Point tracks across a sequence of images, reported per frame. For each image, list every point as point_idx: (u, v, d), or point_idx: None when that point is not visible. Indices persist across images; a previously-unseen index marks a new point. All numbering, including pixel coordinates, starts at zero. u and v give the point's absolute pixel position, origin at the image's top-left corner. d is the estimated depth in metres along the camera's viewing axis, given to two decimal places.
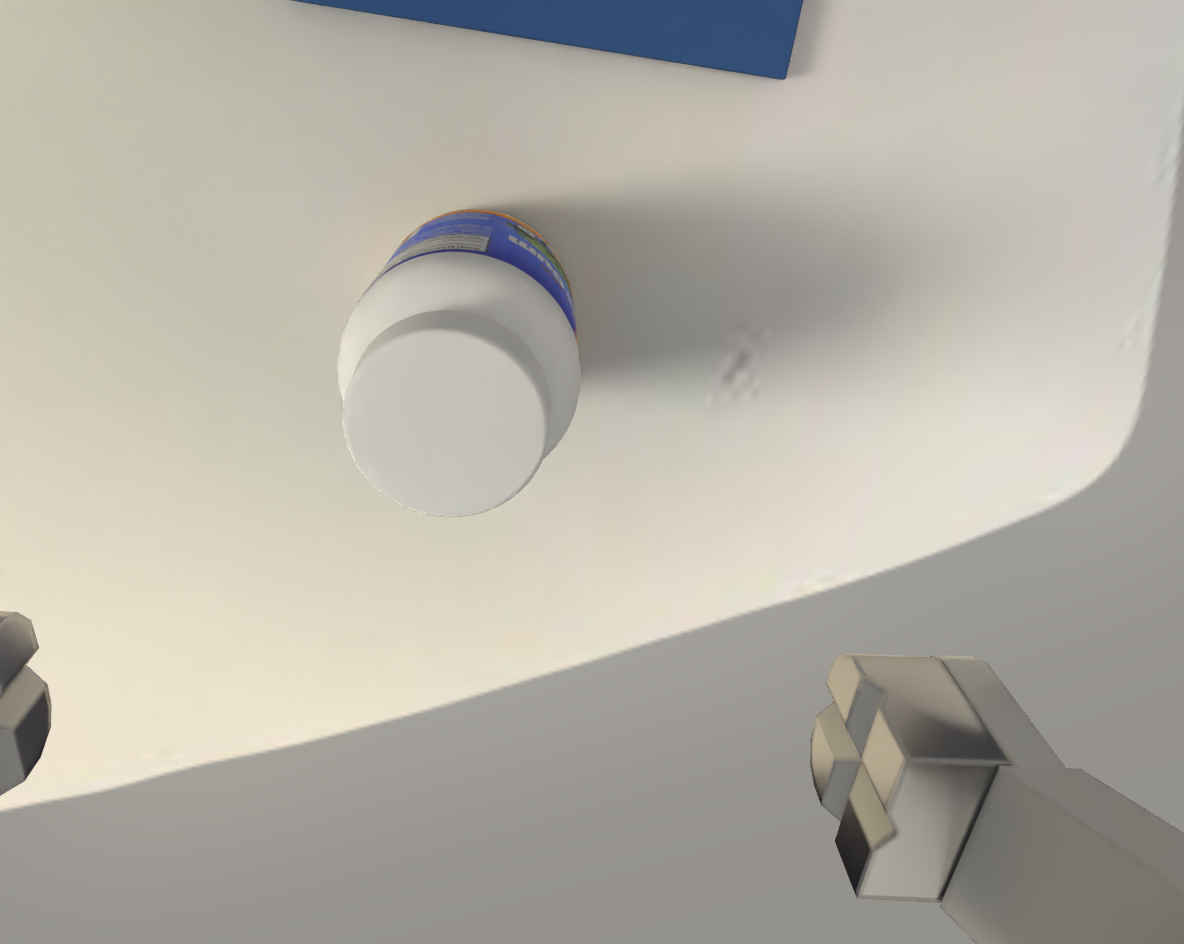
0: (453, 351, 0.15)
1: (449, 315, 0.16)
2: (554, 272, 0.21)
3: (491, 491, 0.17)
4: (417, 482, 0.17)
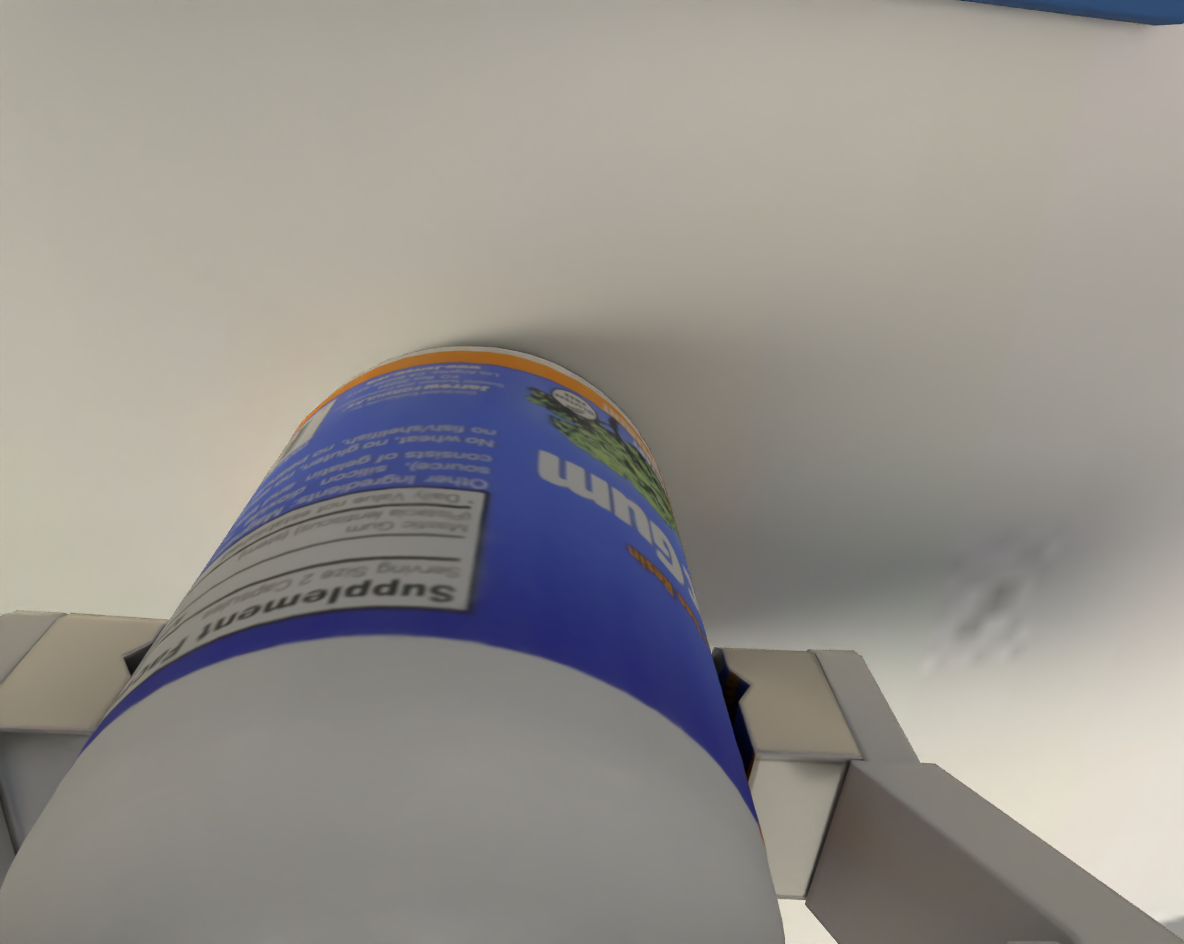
0: None
1: None
2: (656, 537, 0.08)
3: None
4: None
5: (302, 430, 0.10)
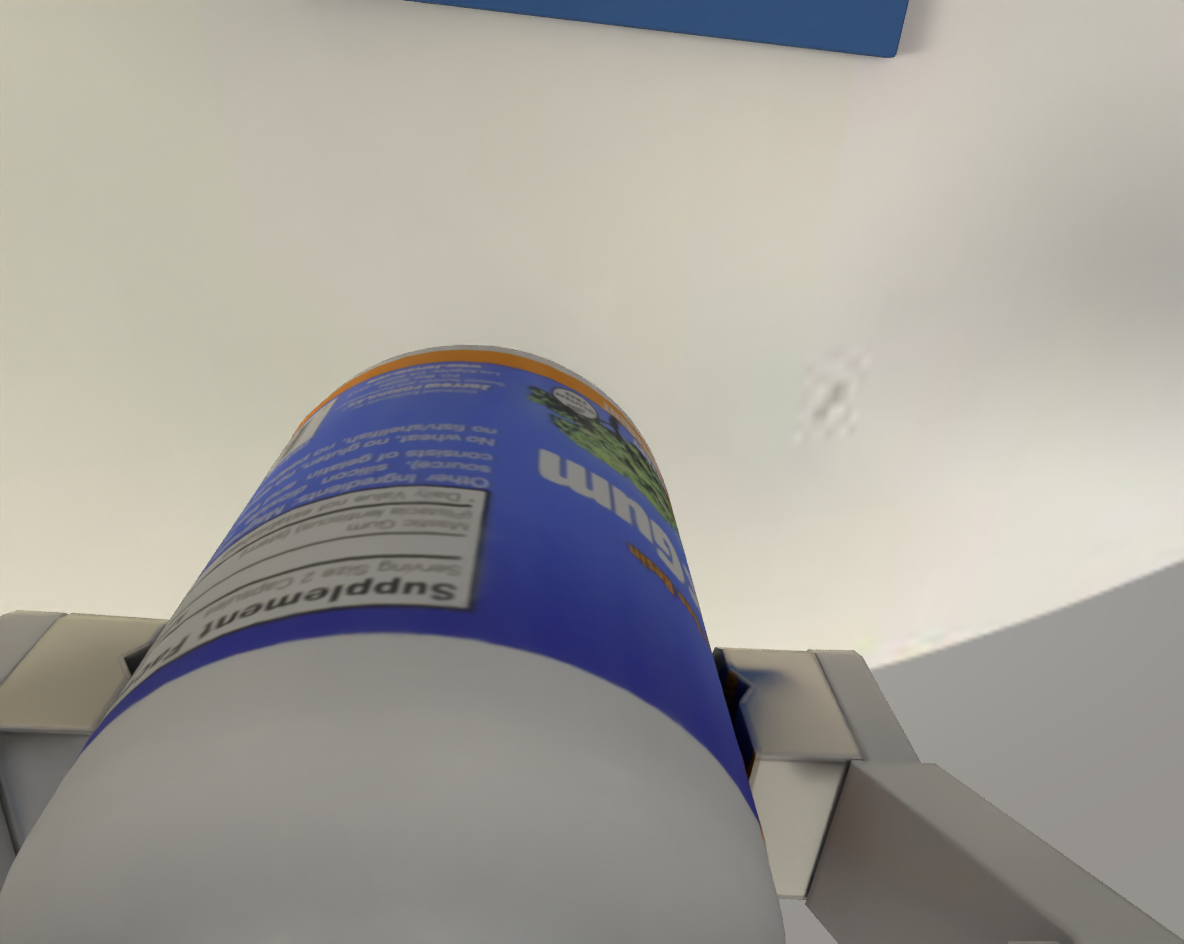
0: None
1: None
2: (656, 535, 0.08)
3: None
4: None
5: (303, 429, 0.10)
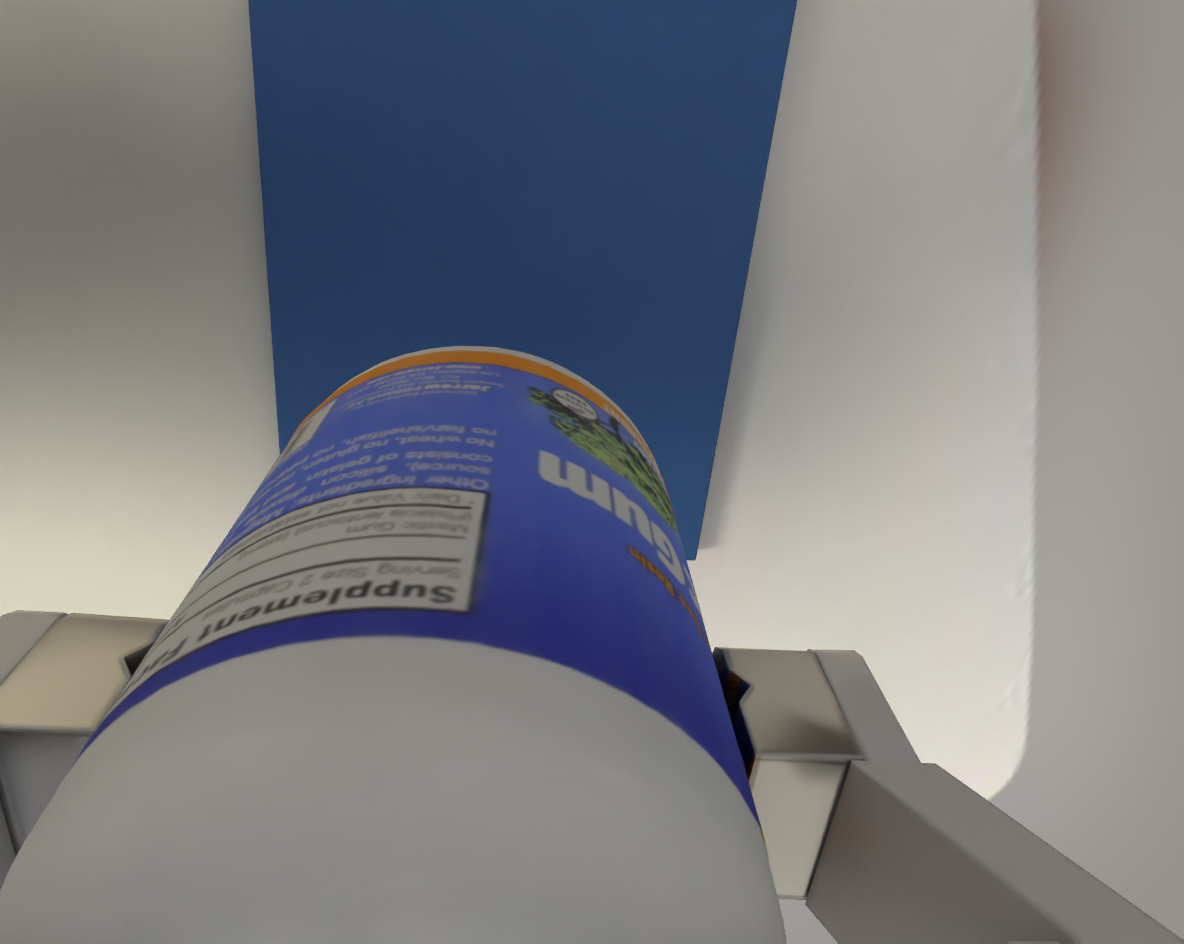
0: None
1: None
2: (657, 537, 0.08)
3: None
4: None
5: (302, 430, 0.10)
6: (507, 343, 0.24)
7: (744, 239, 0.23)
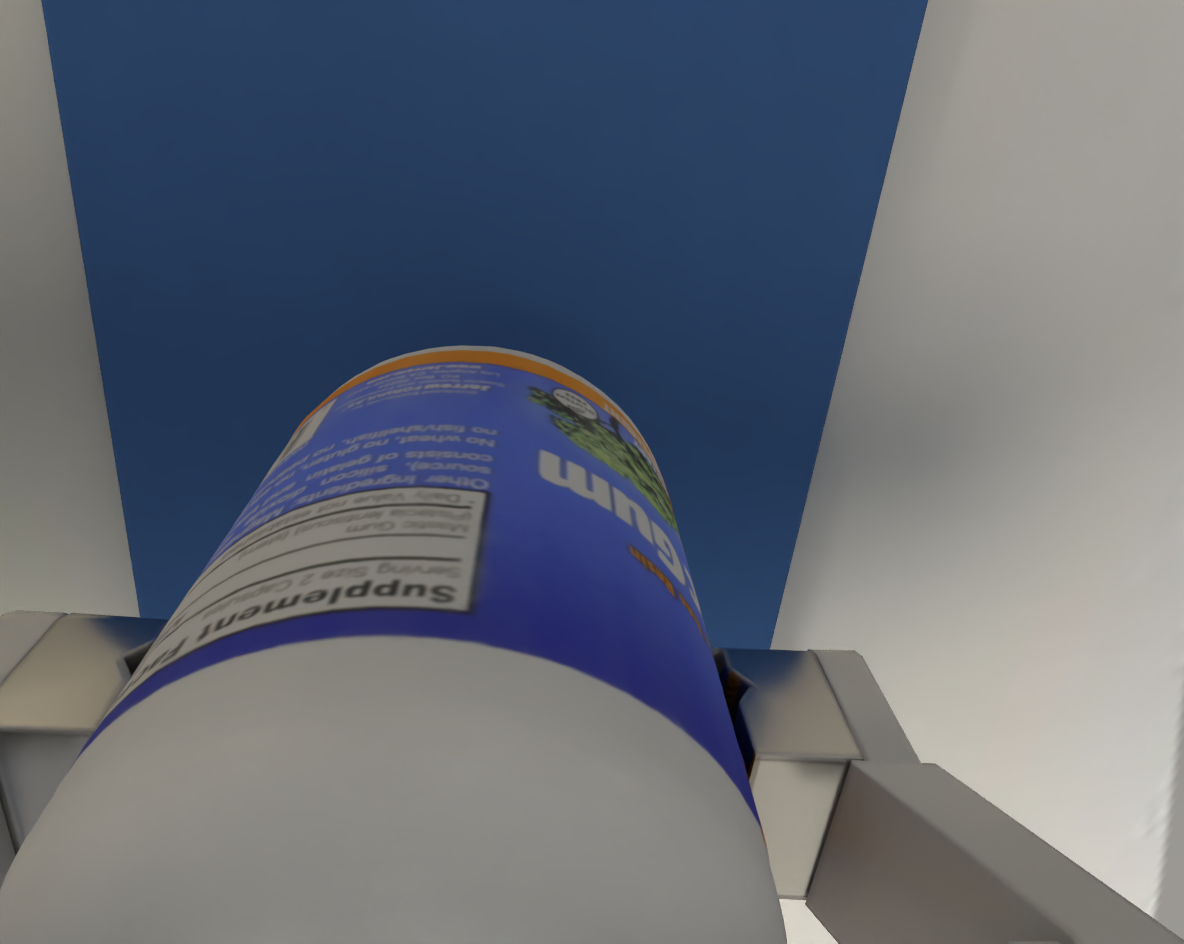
0: None
1: None
2: (657, 536, 0.08)
3: None
4: None
5: (302, 430, 0.10)
6: None
7: (812, 423, 0.16)
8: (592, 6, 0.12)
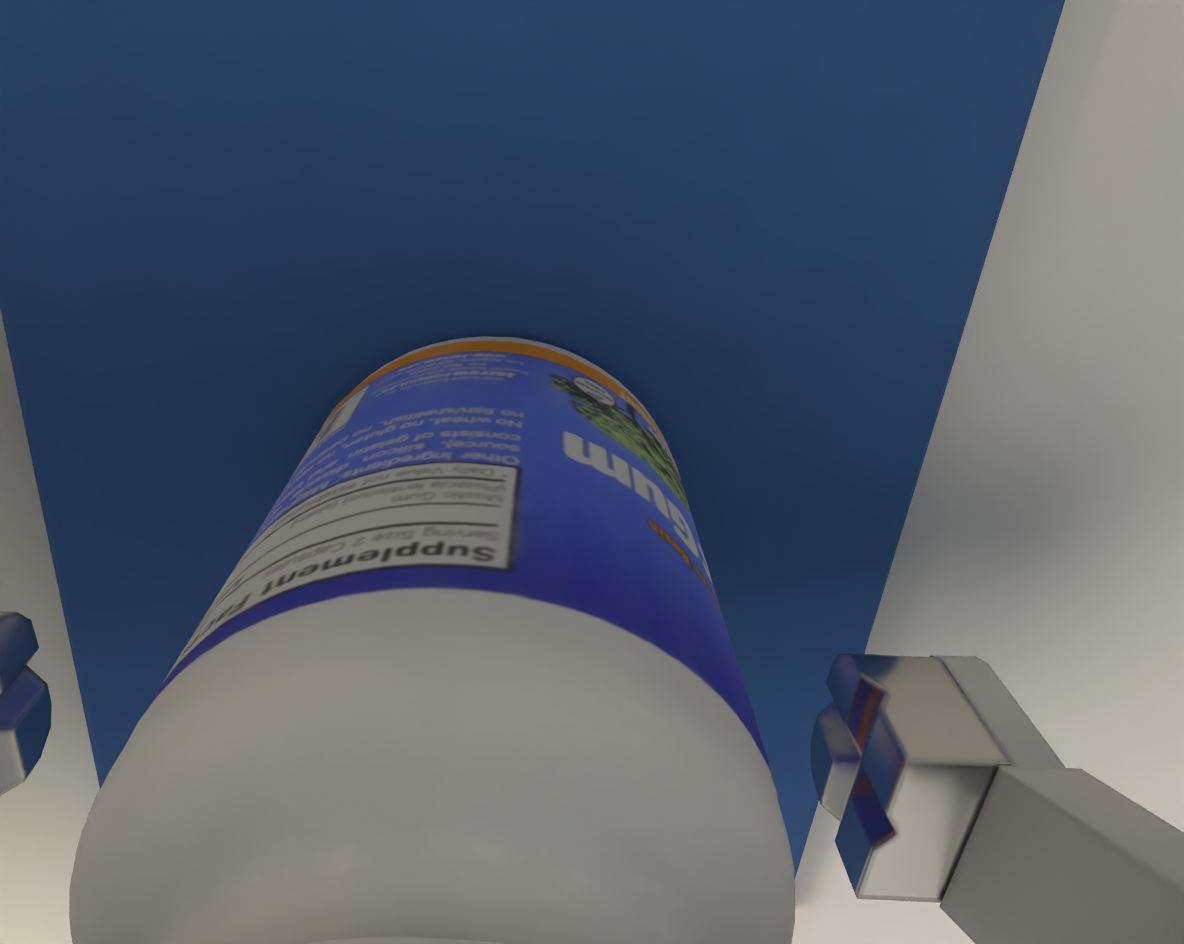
0: None
1: None
2: (672, 513, 0.09)
3: None
4: None
5: (337, 414, 0.10)
6: None
7: (894, 504, 0.13)
8: None
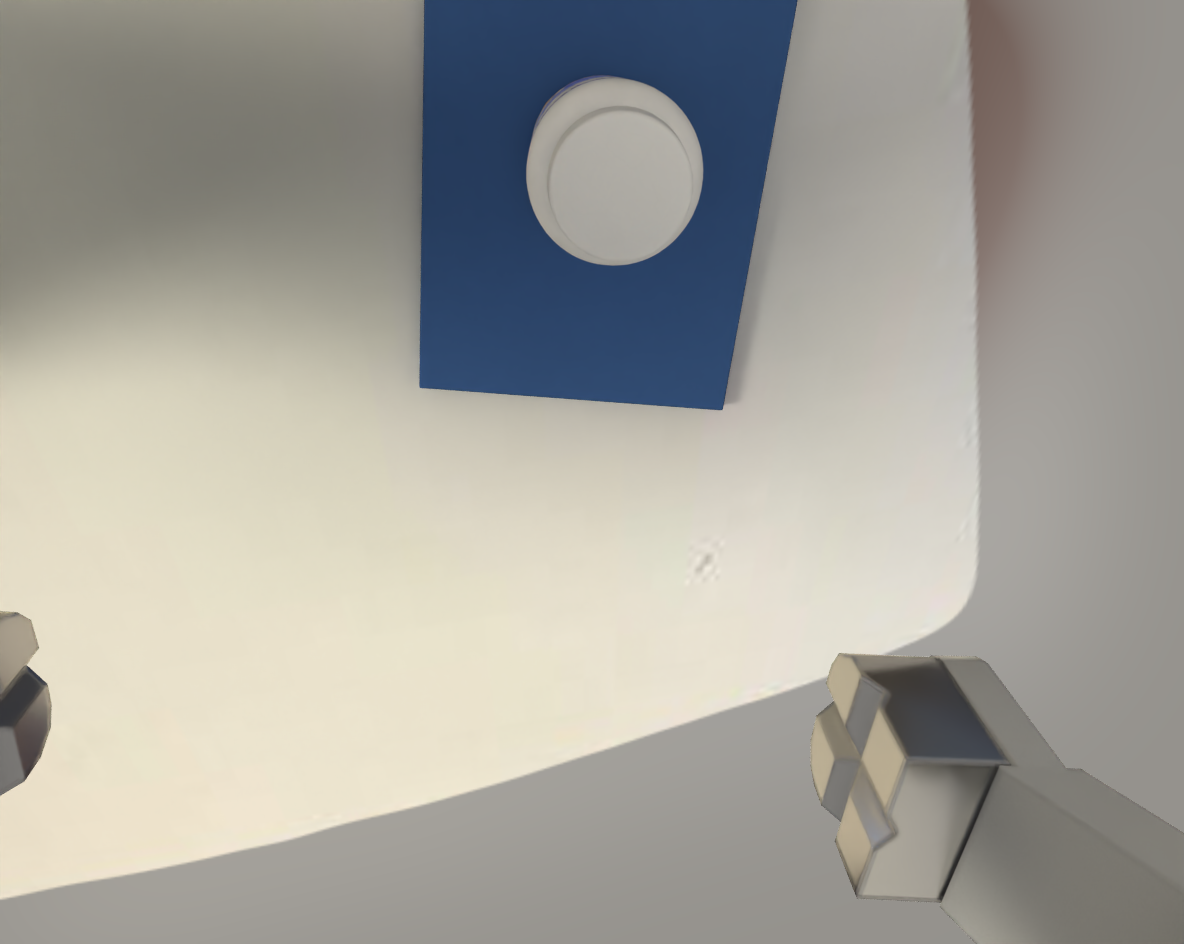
0: (630, 127, 0.22)
1: (622, 107, 0.23)
2: None
3: (650, 239, 0.23)
4: (599, 232, 0.23)
5: (554, 95, 0.29)
6: None
7: (761, 159, 0.32)
8: None
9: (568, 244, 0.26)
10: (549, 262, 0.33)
